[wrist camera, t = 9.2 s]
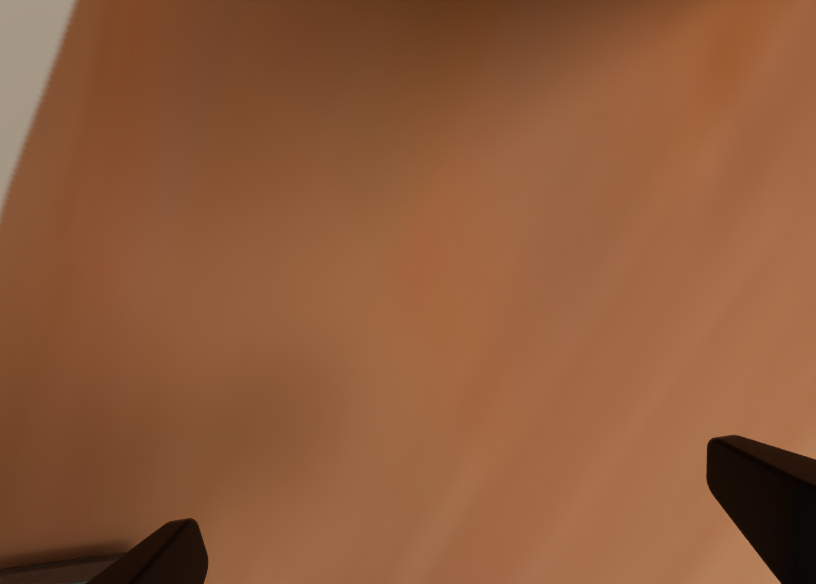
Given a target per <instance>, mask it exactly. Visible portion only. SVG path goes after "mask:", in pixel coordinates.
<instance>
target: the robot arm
mask: <svg viewBox="0 0 816 584" xmlns="http://www.w3.org/2000/svg"><path fill="white" fill-rule="evenodd" d="M706 478H707V483H708V486H709V489H710V491H711V493H712V494H713V496H714V497H715V498H716V500H717V501H718V502H719V504H720V505H721V506H722V508H723V509H724V510H725V511H726V513H727V514H728V515H729V517H730V518H731V519H732V521H733V522H734V523H735V524H736V526H737V527H738V528H739V530H740V531H741V532H742V534H743V535H744V536H745V537H746V539H747V540H748V541H749V543H750V544H751V545H752V547H753V548H754V549H755V550H756V552H757V553H758V554H759V556H760V557H761V558H762V560H763V561H764V562H765V564H766V565H767V566H768V567H769V569H770V570H771V571H772V573H773V574H774V575H775V576H776V578H777V579H778V580H779V581H780V582H781V584H816V460H815V459H812V458H809V457H806V456H803V455H799V454H796V453H793V452H790V451H786V450H783V449H780V448H777V447H774V446H770V445H767V444H764V443H761V442H757V441H754V440H751V439H748V438H745V437H741V436H738V435H728V436H722V437H715V438H712V439H711V440H709V442H708V444H707V473H706ZM207 570H208V555H207V551H206V548H205V545H204V542H203V539H202V535H201V532H200V529H199V526H198V523H197V522H196V521H195V520H194V519H191V518H188V519H181V520H175V521H170V522H168V523H166V524H165V525H163V526H162V527H161V528H159V529H158V530H157V531H155V532H154V533H152V534H151V535H150V536H148V537H147V538H146V539H144V540H143V541H142V542H140V543H139V544H138V545H136V546H135V547H134V548H132V549H131V550H130V551H128V552H127V553H126V554H124V555H123V556H122V557H120V558H119V559H118V560H116V561H115V562H114V563H112V564H111V565H109V566H108V567H107V568H105V569H104V570H103V571H101V572H100V573H99V574H97V575H96V576H95V577H93V578H92V579H91V580H89V581H88V582H87V583H85V584H204V581H205V578H206V574H207Z"/></svg>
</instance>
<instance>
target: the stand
mask: <svg viewBox="0 0 816 584" xmlns="http://www.w3.org/2000/svg"><path fill="white" fill-rule="evenodd" d="M124 554H126V553H119V554H112V555H104V556H97V557H90V558H82V559H75V560H67V561H60V562H53V563H45V564H38V565H30V566H23V567H16V568H8V569H1V570H0V584H85V583H87V582H88V581H89V580H91V579H92V578H93V577H95V576H96V575H97V574H99V573H100V572H101V571H103V570H104V569H105V568H107V567H108V566H109V565H111V564H112V563H114V562H115V561H116V560H118V559H119V558H120V557H122V556H123V555H124Z"/></svg>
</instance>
